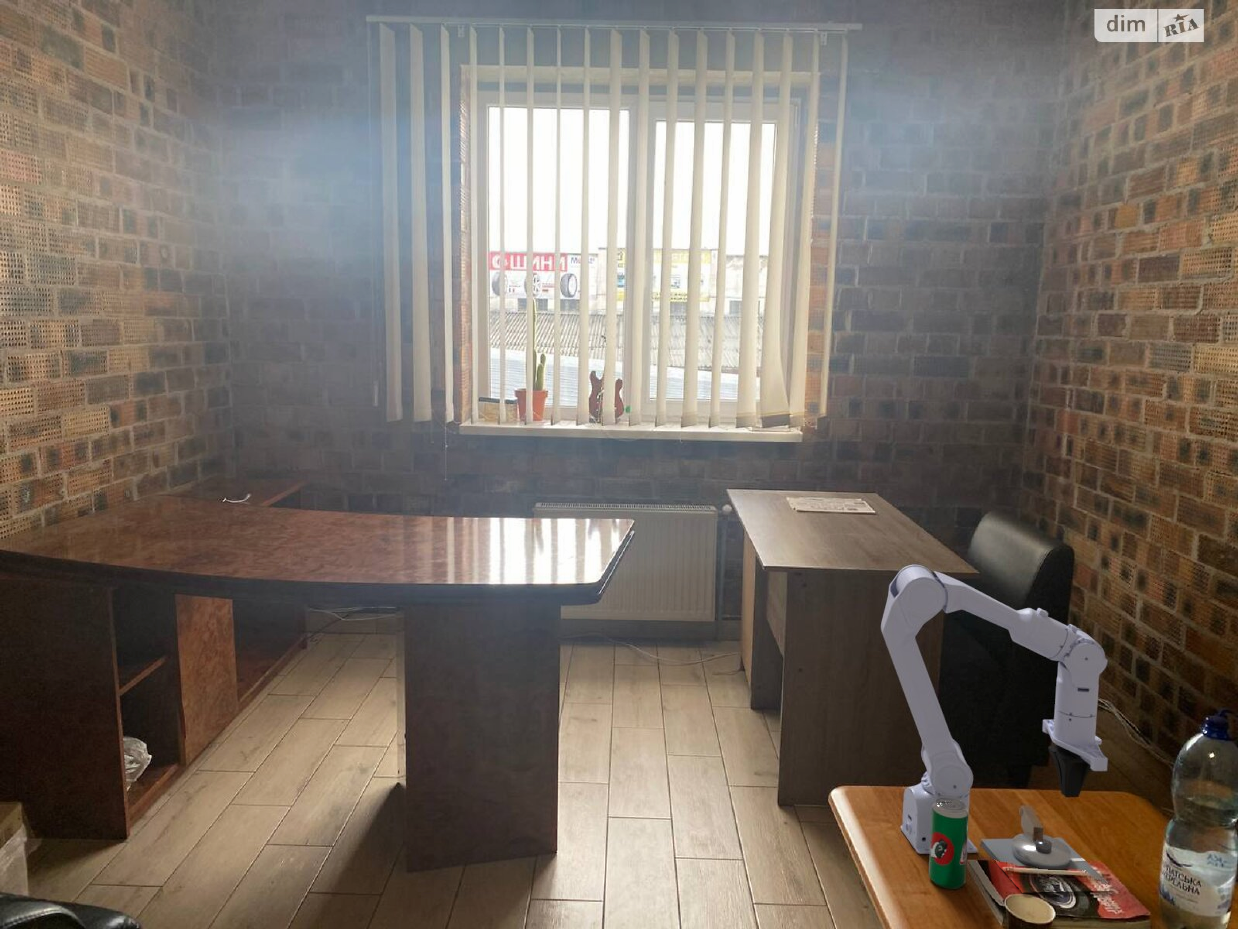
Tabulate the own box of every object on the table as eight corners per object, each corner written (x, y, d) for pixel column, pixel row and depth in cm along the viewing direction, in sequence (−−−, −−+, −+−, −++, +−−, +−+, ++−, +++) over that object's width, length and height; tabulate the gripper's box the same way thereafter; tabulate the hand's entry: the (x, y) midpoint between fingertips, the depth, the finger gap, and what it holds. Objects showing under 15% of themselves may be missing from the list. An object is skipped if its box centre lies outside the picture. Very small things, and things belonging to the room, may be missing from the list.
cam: (1077, 873, 131) (1079, 850, 130) (1019, 867, 132) (1020, 845, 132) (1049, 825, 145) (1051, 804, 144) (997, 820, 146) (998, 799, 146)
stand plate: (1021, 893, 128) (1022, 886, 128) (980, 845, 141) (980, 838, 141) (1109, 891, 128) (1110, 884, 128) (1060, 843, 141) (1061, 837, 141)
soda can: (968, 893, 128) (972, 813, 127) (931, 889, 129) (934, 809, 127) (961, 873, 133) (965, 797, 131) (926, 869, 134) (929, 793, 132)
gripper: (1130, 729, 129) (1123, 818, 131) (1074, 693, 144) (1069, 773, 145) (1082, 729, 129) (1076, 819, 130) (1032, 693, 143) (1027, 774, 145)
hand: (1070, 795), depth 138 cm, fingers closed
